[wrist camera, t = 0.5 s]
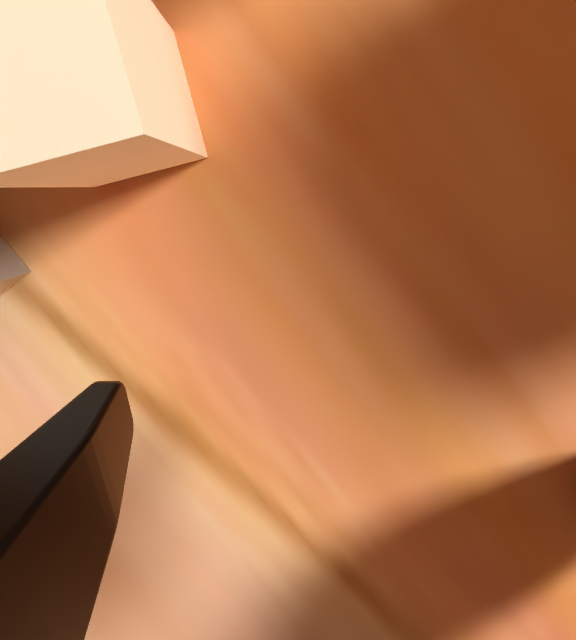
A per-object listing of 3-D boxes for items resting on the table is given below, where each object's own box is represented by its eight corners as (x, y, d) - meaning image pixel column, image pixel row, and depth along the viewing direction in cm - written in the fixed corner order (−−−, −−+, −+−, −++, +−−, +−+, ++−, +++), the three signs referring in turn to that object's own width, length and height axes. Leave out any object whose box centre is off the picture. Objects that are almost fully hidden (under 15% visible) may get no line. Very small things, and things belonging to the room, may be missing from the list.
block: (208, 157, 20) (144, 133, 11) (95, 187, 21) (-58, 187, 11) (173, 31, 19) (71, -110, 10) (55, 63, 20) (-149, -45, 10)
